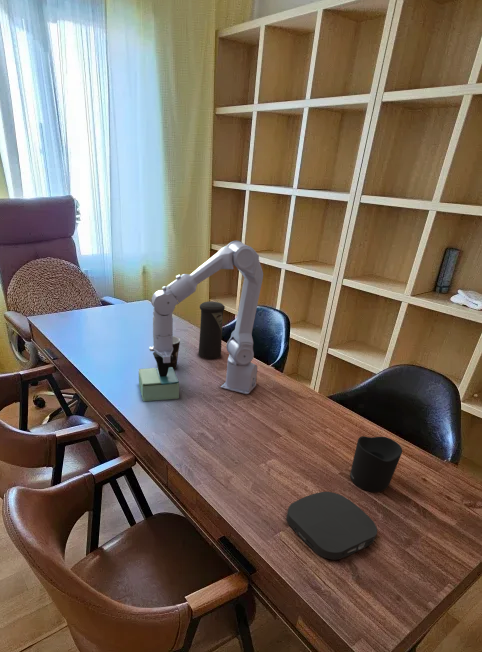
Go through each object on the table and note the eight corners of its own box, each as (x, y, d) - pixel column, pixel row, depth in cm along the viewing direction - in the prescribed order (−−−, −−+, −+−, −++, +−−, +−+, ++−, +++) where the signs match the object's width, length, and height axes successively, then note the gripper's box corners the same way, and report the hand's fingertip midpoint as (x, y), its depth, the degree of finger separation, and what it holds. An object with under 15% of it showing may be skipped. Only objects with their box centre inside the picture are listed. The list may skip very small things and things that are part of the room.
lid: (172, 368, 137) (172, 366, 137) (178, 382, 128) (178, 381, 128) (156, 370, 136) (156, 368, 136) (161, 385, 127) (161, 383, 127)
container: (221, 360, 158) (225, 307, 147) (197, 359, 158) (199, 305, 147) (221, 351, 165) (224, 300, 155) (197, 350, 165) (200, 299, 155)
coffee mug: (168, 373, 146) (168, 346, 141) (150, 366, 150) (149, 339, 145) (189, 363, 154) (190, 337, 149) (171, 357, 158) (172, 331, 153)
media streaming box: (331, 495, 95) (333, 485, 93) (383, 540, 84) (387, 529, 82) (278, 515, 88) (280, 505, 87) (327, 567, 77) (330, 555, 76)
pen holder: (357, 463, 105) (366, 429, 100) (395, 479, 100) (407, 445, 95) (341, 481, 99) (351, 446, 94) (381, 499, 94) (394, 463, 89)
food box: (172, 383, 140) (172, 366, 137) (178, 398, 131) (179, 381, 128) (139, 385, 137) (138, 368, 134) (143, 401, 128) (142, 384, 125)
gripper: (146, 325, 130) (147, 366, 137) (152, 342, 118) (153, 386, 125) (168, 324, 131) (168, 365, 138) (177, 341, 119) (177, 385, 126)
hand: (163, 375), depth 132 cm, fingers closed, pressing on lid
